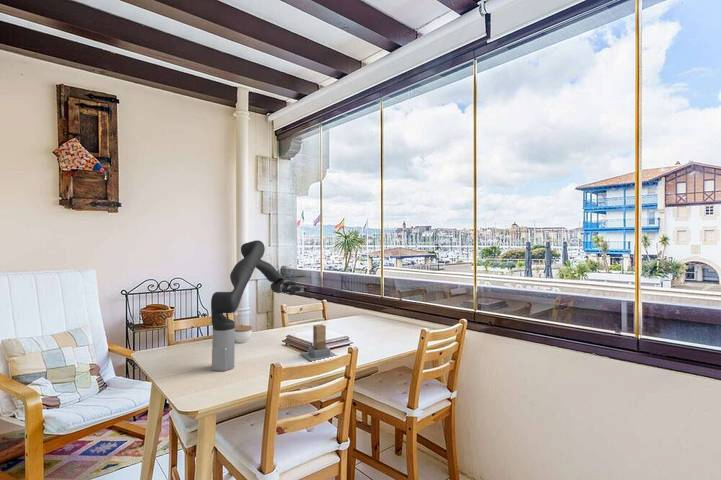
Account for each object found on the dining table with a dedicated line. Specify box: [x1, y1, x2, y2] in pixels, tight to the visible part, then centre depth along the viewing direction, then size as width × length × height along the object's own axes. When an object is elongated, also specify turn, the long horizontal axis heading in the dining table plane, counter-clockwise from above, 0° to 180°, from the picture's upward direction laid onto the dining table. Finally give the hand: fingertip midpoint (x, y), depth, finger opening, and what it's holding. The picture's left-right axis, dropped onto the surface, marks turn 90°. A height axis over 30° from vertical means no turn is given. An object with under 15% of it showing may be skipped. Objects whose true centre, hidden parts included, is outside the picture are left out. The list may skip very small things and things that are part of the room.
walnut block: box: [312, 323, 327, 350], centre depth 189 cm, size 4×4×14 cm
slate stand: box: [299, 346, 338, 363], centre depth 189 cm, size 14×14×4 cm
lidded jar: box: [235, 323, 253, 344], centre depth 214 cm, size 11×11×9 cm
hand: (299, 290), depth 201 cm, fingers open, 8 cm apart
